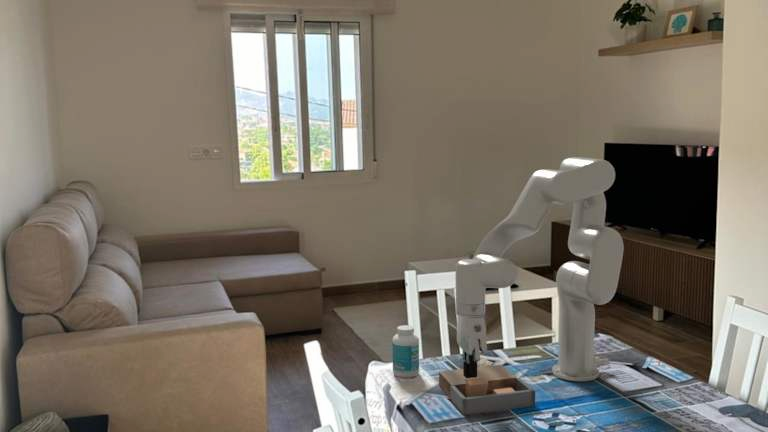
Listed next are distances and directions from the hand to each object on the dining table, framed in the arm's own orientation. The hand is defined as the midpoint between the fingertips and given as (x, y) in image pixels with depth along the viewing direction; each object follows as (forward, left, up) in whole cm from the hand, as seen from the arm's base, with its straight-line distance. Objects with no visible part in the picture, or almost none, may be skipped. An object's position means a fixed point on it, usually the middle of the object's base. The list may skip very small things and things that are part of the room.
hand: (470, 376), depth 180 cm
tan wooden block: (-3, -3, -5) cm, 6 cm away
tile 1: (0, +4, -1) cm, 4 cm away
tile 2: (-7, +7, -2) cm, 10 cm away
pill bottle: (+12, -19, -5) cm, 23 cm away
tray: (-3, +7, -5) cm, 9 cm away
